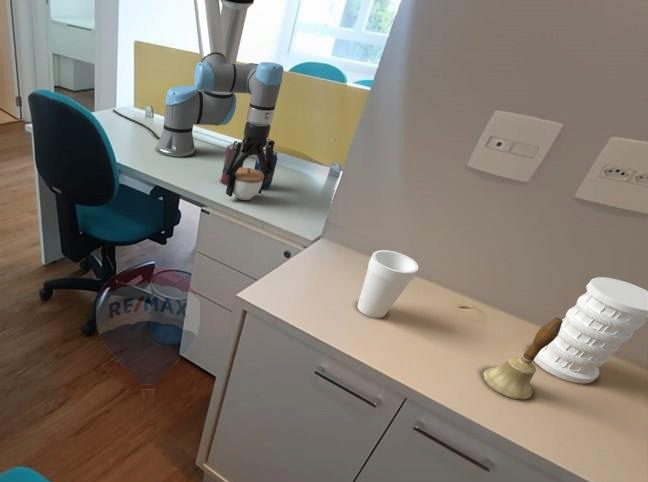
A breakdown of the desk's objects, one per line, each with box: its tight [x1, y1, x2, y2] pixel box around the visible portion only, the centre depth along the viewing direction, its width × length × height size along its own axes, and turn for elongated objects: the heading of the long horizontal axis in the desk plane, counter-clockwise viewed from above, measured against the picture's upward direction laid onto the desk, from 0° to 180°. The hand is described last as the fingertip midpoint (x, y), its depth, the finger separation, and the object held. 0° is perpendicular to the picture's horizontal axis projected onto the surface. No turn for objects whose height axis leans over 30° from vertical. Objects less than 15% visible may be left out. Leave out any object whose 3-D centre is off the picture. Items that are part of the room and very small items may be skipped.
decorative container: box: [533, 276, 648, 384], centre depth 87 cm, size 12×12×18 cm
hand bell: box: [482, 317, 563, 400], centre depth 82 cm, size 8×8×16 cm
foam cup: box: [356, 249, 419, 319], centre depth 99 cm, size 10×9×13 cm
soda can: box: [253, 148, 278, 191], centre depth 154 cm, size 7×7×12 cm
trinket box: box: [232, 167, 264, 201], centre depth 145 cm, size 11×11×9 cm
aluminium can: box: [220, 143, 246, 186], centre depth 155 cm, size 7×7×12 cm
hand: (243, 193), depth 148 cm, fingers closed on trinket box, 11 cm apart
